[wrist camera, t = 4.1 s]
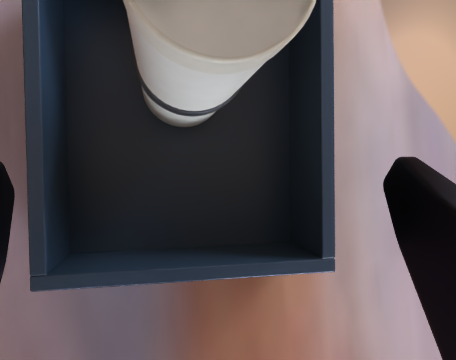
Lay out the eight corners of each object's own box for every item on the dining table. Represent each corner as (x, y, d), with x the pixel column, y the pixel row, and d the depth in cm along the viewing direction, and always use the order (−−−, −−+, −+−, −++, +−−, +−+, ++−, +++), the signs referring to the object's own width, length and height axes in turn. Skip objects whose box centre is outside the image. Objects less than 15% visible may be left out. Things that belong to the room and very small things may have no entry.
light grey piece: (199, 144, 19) (263, 106, 8) (123, 101, 19) (66, -15, 7) (239, 72, 20) (361, -72, 8) (166, 27, 19) (180, -205, 7)
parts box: (297, 250, 21) (335, 272, 17) (60, 263, 19) (29, 292, 14) (295, 5, 21) (333, -41, 16) (52, -10, 19) (19, -68, 14)
